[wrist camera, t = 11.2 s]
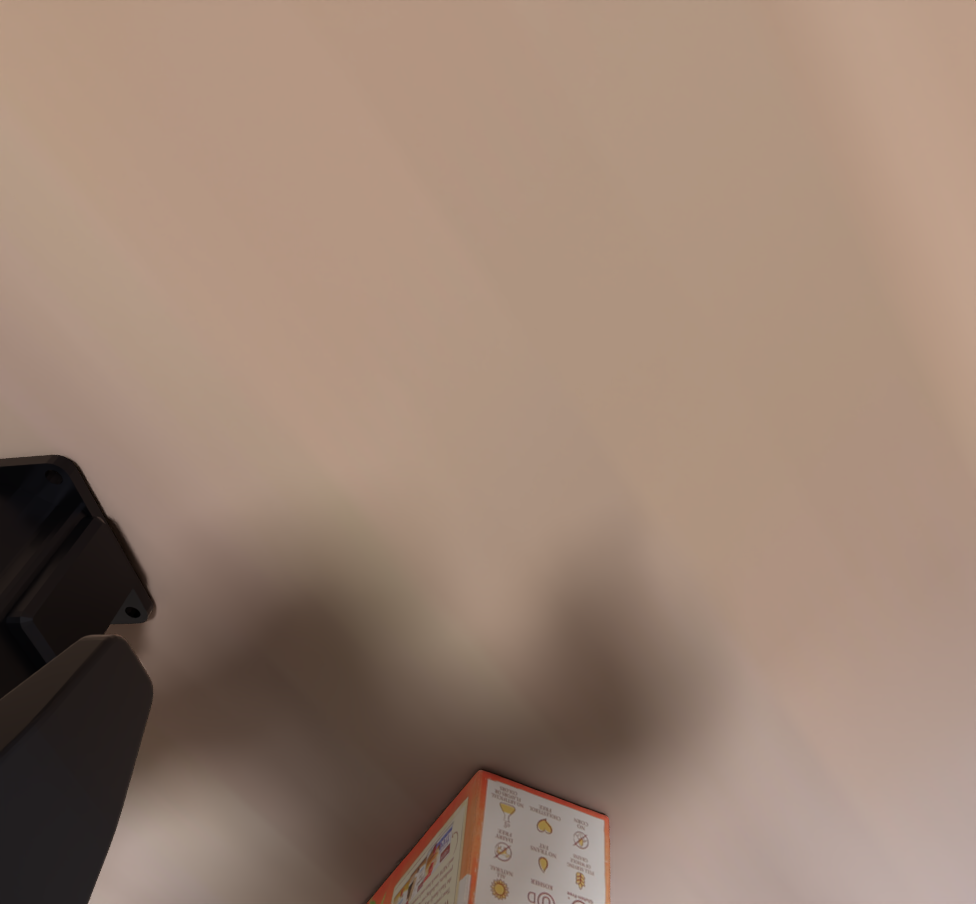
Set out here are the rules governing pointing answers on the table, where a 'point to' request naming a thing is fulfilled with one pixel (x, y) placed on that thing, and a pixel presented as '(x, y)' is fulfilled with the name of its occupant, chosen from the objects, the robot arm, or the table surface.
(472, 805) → the cracker box
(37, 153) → the table surface
